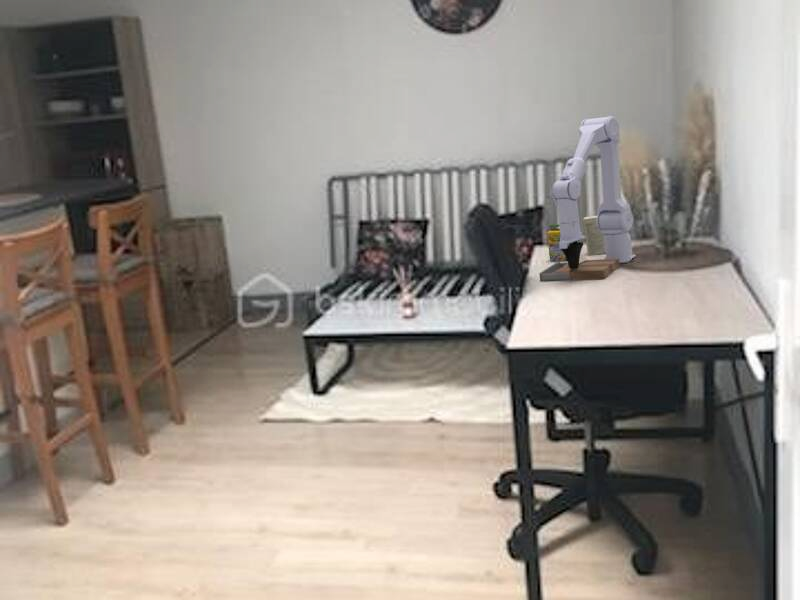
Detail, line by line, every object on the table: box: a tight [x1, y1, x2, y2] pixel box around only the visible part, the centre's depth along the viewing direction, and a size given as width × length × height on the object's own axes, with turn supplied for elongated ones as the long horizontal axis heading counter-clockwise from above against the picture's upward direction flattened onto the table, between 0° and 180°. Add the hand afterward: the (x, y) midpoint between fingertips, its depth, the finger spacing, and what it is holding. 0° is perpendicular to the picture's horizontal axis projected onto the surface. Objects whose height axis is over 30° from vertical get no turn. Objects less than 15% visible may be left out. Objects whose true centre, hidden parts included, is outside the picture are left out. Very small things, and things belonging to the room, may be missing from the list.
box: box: [539, 261, 580, 282], centre depth 253 cm, size 16×9×2 cm, turn 150°
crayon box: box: [546, 224, 567, 262], centre depth 275 cm, size 7×3×12 cm, turn 53°
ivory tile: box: [565, 254, 588, 266], centre depth 256 cm, size 5×5×2 cm
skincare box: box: [582, 215, 606, 256], centre depth 278 cm, size 6×4×12 cm
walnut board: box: [569, 258, 621, 281], centre depth 248 cm, size 16×10×2 cm, turn 150°
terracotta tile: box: [554, 265, 572, 274], centre depth 249 cm, size 5×5×2 cm
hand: (574, 268), depth 245 cm, fingers closed
